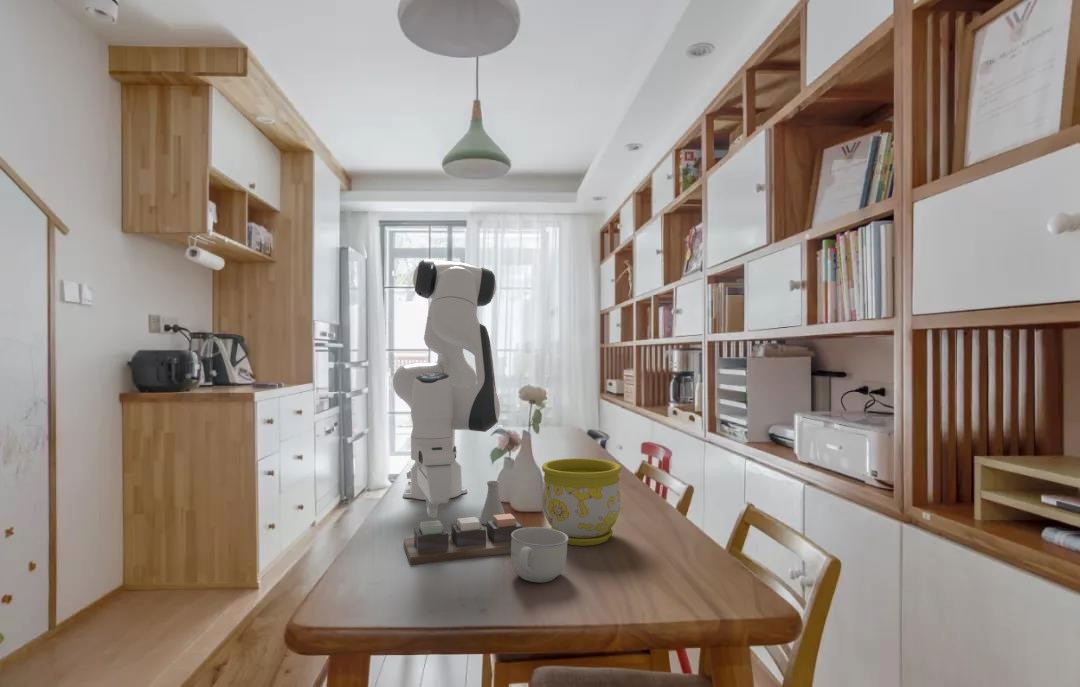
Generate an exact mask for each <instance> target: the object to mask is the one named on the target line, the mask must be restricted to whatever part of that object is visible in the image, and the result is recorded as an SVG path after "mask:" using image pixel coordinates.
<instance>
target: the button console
mask: <svg viewBox="0 0 1080 687" xmlns="http://www.w3.org/2000/svg"><path fill="white" fill-rule="evenodd" d="M450 528H451V529H450V530H451V531H450V532H451V533H449V532H448V530H447V529H446V526H444V524H442V533H438V534H429V535H422V534H421V532H420V527H414V531H413V532H414V536H413V537H410V538H404V539H403V548H404V551H405V553H406V556H407V559H408V562H409V564H410V566H411V565H413V566H414V565H421V564H429V563H439V562H446V561H447V562H448V561H455V560H456V561H457V560H462V559H463V560H464V559H471V558H481V557H488V556H499V555H506V554H511V540H512V538H511V534H512V532H513V531H515V530H517V529H520V528H523V526H522V525H521V524H520V522H518V521H517V520H516V526H507V527H496V526H495V525H494V524H493V520H492V521H487V525H486V528H485V527H484V526H483V524H481V523H480V529H478V530H468V531H460V530H459V529H458V528H457V523H452V524H451V527H450Z"/></svg>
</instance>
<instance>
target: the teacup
mask: <svg viewBox="0 0 1080 687" xmlns="http://www.w3.org/2000/svg"><path fill="white" fill-rule="evenodd" d="M511 538H512V540H511V553H510V563H511V567H512V569H513V571H514V572H515V573H516V574H518V576H519V577H520V578H521V579H523V580H525V581H528V582H532V583H548V582H551V581H553V580H555V579H556V577H558V576H560V575H561V574H562V573H563V572H564V570H565V567H566V562H567V555H568V544H567V542H568V536H567V535H566V534H565V533H563V532H561V531H558V530H554V529H551V527H550V528H549V527H543V526H541V527H540V526H528V527H522V528H520V529H517V530H515V531H513V532H512V534H511Z"/></svg>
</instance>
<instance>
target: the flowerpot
mask: <svg viewBox="0 0 1080 687" xmlns="http://www.w3.org/2000/svg"><path fill="white" fill-rule="evenodd" d="M541 470H542V472H543V473H544V476H543V478H542V479H543V486H542V487H543V488H542V498H541V499H542V500H541V501H542V502H541V503H542V508H543V509H542V510H543V514H544V516H545V519H546V521H547V523H548V524H549V525H550V528H551V529H554V530H558V531H561V532H563V533H565V534H566V535H567V536H568V542H567V545H571V546H579V547H582V546H583V547H584V546H587V547H588V546H595V545H600V544H603V543H605V542H607V541H608V540H609V538H610V537H611V536H612V535H613V533H614V532H613V529H612V528H613V526H614V525H615V523H616V522H617V519H618V517H619V514H620V510H621V489H620V484H619V481H620V477H619V474H620V473H621V471H622V467H621V465H620V464H619V463H616V462H614V461H609V460H606V459H599V458H598V459H597V458H586V457H585V458H583V457H582V458H579V457H578V458H577V457H576V458H574V457H573V458H571V457H570V458H561V459H554V460H549V461H546V462H545V463H543V464H542V466H541Z"/></svg>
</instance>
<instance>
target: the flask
mask: <svg viewBox="0 0 1080 687" xmlns="http://www.w3.org/2000/svg"><path fill="white" fill-rule="evenodd" d="M486 484H487V494H486V498H485V502H484V505H483V508H482V511H481V512H480V513H481V514H480V517H479V519H478V520H479V522H480V523H481V525H484V526H487V521H492V520H493V515H500V514H506V513H505V509H504V508H503V504H502V501H501V498H500V492H499V485H500V481H499V480H488V481H486Z"/></svg>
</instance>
